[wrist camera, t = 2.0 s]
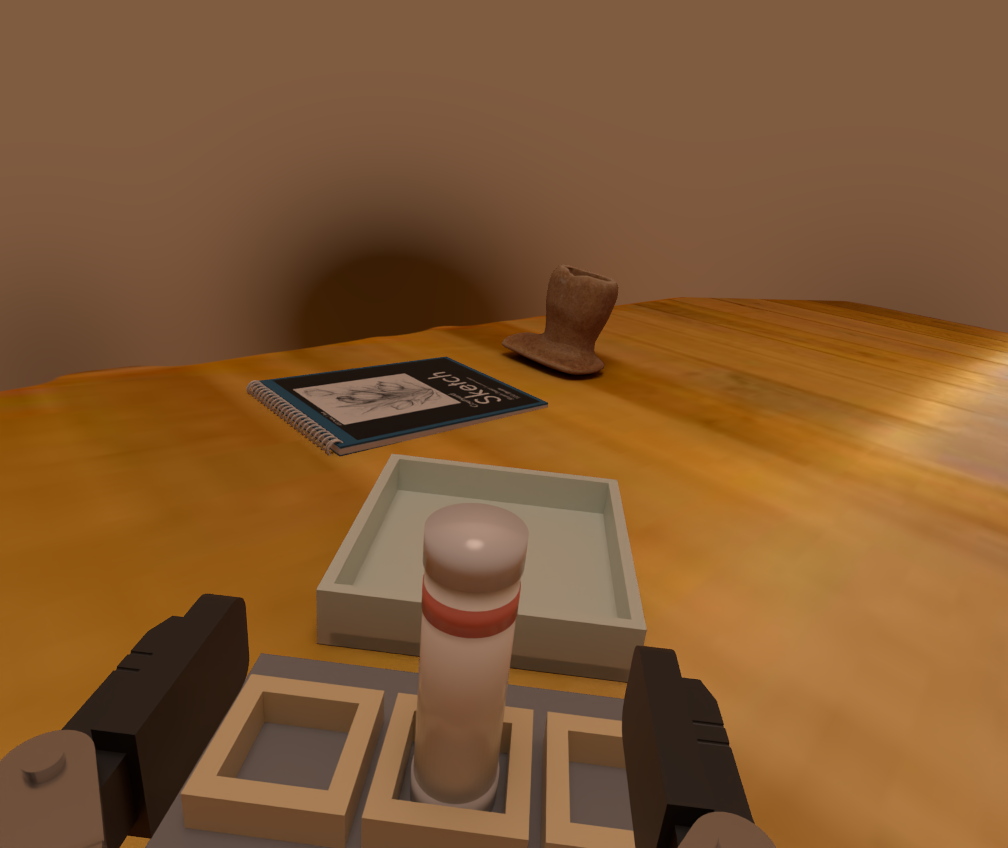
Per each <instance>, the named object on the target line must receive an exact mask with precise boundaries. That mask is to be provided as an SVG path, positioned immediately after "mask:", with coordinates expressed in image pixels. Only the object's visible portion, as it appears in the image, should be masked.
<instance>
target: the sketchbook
mask: <svg viewBox="0 0 1008 848" xmlns="http://www.w3.org/2000/svg"><path fill="white" fill-rule="evenodd" d="M251 384H252V385H251ZM249 386H250V387H249ZM251 387H252V391H251V392H250V390H251ZM247 392H248V393H249V394H251V395H252V396H253V397H255V399H258V401H261V403H262V404H263V401H262V398H264V406H267V408H270V410H271V411H273V412H274V413H277V416H280V418H281V419H282V418H283V419H284V421H287V423H288V424H290V425H291V427H292V426H293V424H292V421H294V429H297V430H298V432H301V434H302V435H304V433H303V430H306V431H305V437H306V438H308V436H307V432H308V433H309V440H310V441H312V440H313V444H316V442H315V438H316V439H317V447H320V446H319V441H320V442H321V450H324V449H323V444H324V445H325V453H327V454H328V455H331V454H330V452H329V449H331V450H332V451H333V452H335V453H336V454H337V455H339V456H343V455H348V454H352V453H356V452H360V451H365V450H369V449H373V448H377V447H381V446H386V445H390V444H394V443H398V442H402V441H407V440H411V439H415V438H420V437H424V436H428V435H432V434H436V433H441V432H445V431H449V430H453V429H457V428H462V427H466V426H470V425H474V424H479V423H483V422H487V421H491V420H495V419H500V418H504V417H508V416H512V415H517V414H521V413H525V412H529V411H533V410H538V409H542V408H546V407H548V403H547V402H545V401H543V400H541V399H539V398H536V397H534V396H532V395H530V394H527V393H525V392H523V391H521V390H519V389H516V388H514V387H512V386H510V385H508V384H505V383H503V382H501V381H499V380H497V379H494V378H492V377H490V376H488V375H486V374H483V373H481V372H479V371H477V370H475V369H472V368H470V367H468V366H466V365H464V364H461V363H459V362H457V361H455V360H452V359H450V358H448V357H440V358H432V359H424V360H417V361H409V362H401V363H394V364H386V365H378V366H370V367H363V368H355V369H347V370H340V371H332V372H324V373H316V374H309V375H301V376H293V377H286V378H278V379H270V380H262V381H255V380H254V381H252V382H250V383H249V384H248V386H247ZM253 392H255V393H254V394H253ZM256 393H257V394H258V395H257V397H256ZM259 396H261V398H260V399H261V400H260V399H259ZM266 401H267V405H266ZM269 403H270V407H269ZM272 405H273V406H274V407H273V409H272ZM275 408H277V411H275ZM279 411H281V412H280V415H279ZM282 413H283V414H284V415H283V417H282ZM285 416H287V420H286V419H285ZM289 418H290V419H291V421H290V423H289ZM296 423H297V424H298V426H297V428H296ZM299 427H302V429H301V431H300V428H299ZM311 435H312V436H313V439H311Z"/></svg>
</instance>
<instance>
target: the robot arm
mask: <svg viewBox="0 0 1008 848" xmlns="http://www.w3.org/2000/svg"><path fill="white" fill-rule="evenodd" d="M248 666H249V647H248V633H247V618H246V606H245V602H244V600H243V599H242V598H240V597H231V596H223V595H214V594H203V595H202V596H201V597H200V598H199V599H198V600H197V601H196V602H195V604H194V605H193V606H192V607H191V608H190V610H189V611H188V612H187V613H186V614H185V616H184V617H178V616H172V617H170V618H168V619H167V620H165V621H164V622H162V623H160V624H159V625H157V626H156V627H154V628H152V629H151V630H149V631H148V632H147V633H146V634H145V635H144V636H143V638H142V639H141V640H140V641H139V642H138V643H137V644H136V645H135V647H134V648H133V649H132V650H131V653H130V655H127V656H126V657H125V658H124V659H123V660H122V661H121V663H120V664H119V665H118V666H117V669H116V671H113V672H112V673H111V674H110V675H109V676H108V677H107V678H106V680H105V681H104V682H103V683H102V684H101V685H100V686H99V688H98V689H97V690H96V691H95V692H94V693H93V694H92V696H91V697H90V698H89V699H88V700H87V701H86V702H85V704H84V705H83V706H82V707H81V708H80V709H79V710H78V711H77V713H76V714H75V715H74V716H73V717H72V718H71V719H70V721H69V722H68V723H67V724H66V725H65V726H64V727H63V729H62V730H58V731H52V732H48V733H45V734H42V735H39V736H36V737H34V738H32V739H30V740H27V741H25V742H24V743H22V744H20V745H19V746H17V747H16V748H14V749H13V750H12V751H10V752H9V753H8V754H7V755H6V756H5V757H4V758H3V759H2V760H1V761H0V848H120V846H121V844H122V843H123V841H124V840H125V838H126V837H127V835H128V836H136V837H143V838H152V837H153V835H154V833H155V832H156V830H157V828H158V827H159V825H160V823H161V822H162V820H163V818H164V817H165V815H166V813H167V812H168V810H169V808H170V807H171V805H172V803H173V802H174V800H175V798H176V797H177V795H178V793H179V792H180V790H181V788H182V787H183V785H184V783H185V782H186V780H187V779H188V777H189V775H190V774H191V772H192V770H193V769H194V767H195V765H196V764H197V762H198V760H199V759H200V757H201V755H202V754H203V752H204V750H205V749H206V747H207V745H208V744H209V742H210V740H211V739H212V737H213V735H214V734H215V732H216V730H217V729H218V727H219V725H220V724H221V722H222V720H223V719H224V717H225V715H226V714H227V712H228V710H229V709H230V707H231V705H232V704H233V702H234V700H235V699H236V697H237V695H238V694H239V692H240V690H241V688H242V686H243V684H244V682H245V679H246V675H247V671H248ZM723 725H724V723H723V720H722V717H721V714H720V710H719V707H718V704H717V701H716V699H715V698H714V697H713V696H712V694H711V693H710V692H709V691H708V689H707V688H706V687H705V686H704V684H703V683H702V682H701V680H698V679H689V678H682V677H681V673H680V669H679V665H678V661H677V657H676V653H675V651H674V650H672V649H664V648H655V647H647V646H638V645H637V646H636V647H635V649H634V653H633V657H632V662H631V667H630V673H629V678H628V683H627V688H626V693H625V698H624V703H623V711H622V740H623V749H624V757H625V765H626V774H627V782H628V791H629V799H630V807H631V816H632V824H633V832H634V841H635V848H776V846H775V845H774V843H773V842H772V841H771V839H770V838H769V837H768V836H767V835H766V834H765V833H764V832H763V831H762V830H761V829H760V828H759V827H757V826H756V825H755V824H754V821H753V818H752V815H751V812H750V809H749V805H748V802H747V799H746V795H745V792H744V789H743V786H742V782H741V779H740V776H739V773H738V769H737V766H736V763H735V759H734V756H733V753H732V750H731V748H730V747H729V740H728V736H727V733H726V730H725V728H724V727H723Z"/></svg>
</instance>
